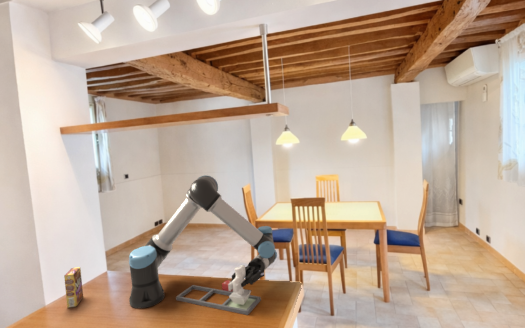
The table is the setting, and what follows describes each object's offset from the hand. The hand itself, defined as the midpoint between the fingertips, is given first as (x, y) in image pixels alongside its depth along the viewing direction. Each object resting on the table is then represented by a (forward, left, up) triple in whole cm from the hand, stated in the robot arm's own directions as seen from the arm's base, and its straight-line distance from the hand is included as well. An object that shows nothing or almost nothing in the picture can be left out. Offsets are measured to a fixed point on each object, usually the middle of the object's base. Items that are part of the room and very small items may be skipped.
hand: (232, 288), depth 127 cm
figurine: (0, +6, -9) cm, 11 cm away
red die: (-12, +14, -10) cm, 21 cm away
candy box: (-76, -18, -10) cm, 79 cm away
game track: (-12, +5, -10) cm, 17 cm away
